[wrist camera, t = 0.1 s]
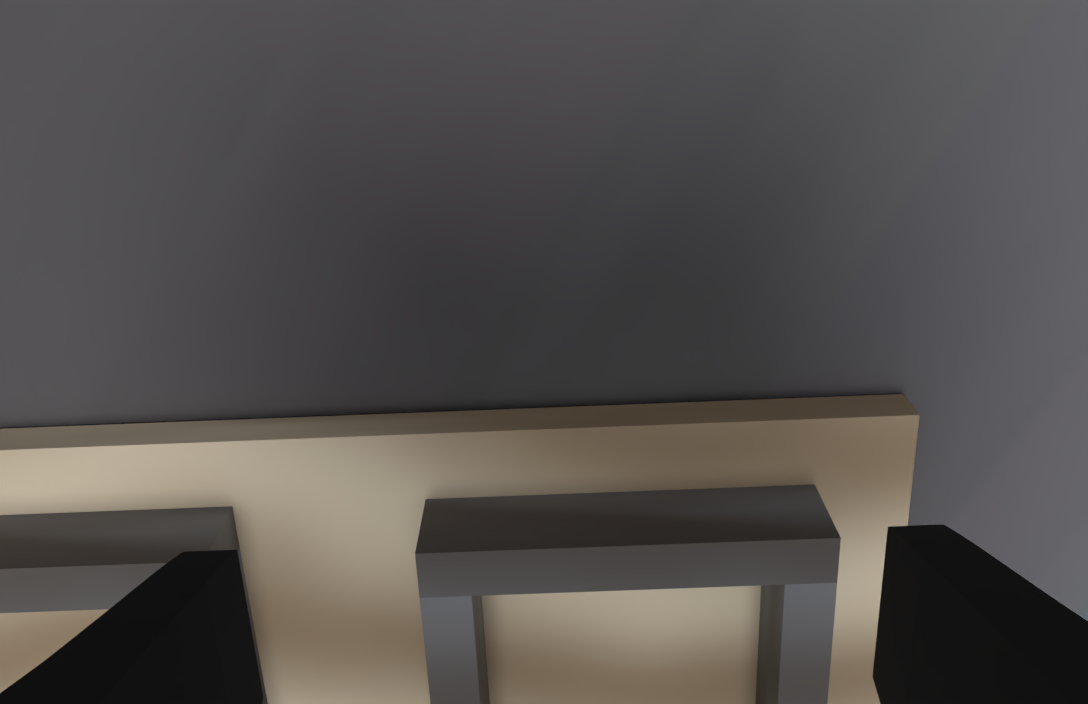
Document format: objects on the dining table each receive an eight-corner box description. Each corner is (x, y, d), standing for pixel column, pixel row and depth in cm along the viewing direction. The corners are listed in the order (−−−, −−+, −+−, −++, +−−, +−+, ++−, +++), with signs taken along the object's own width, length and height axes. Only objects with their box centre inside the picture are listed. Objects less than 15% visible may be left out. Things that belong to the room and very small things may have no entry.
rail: (862, 794, 26) (901, 899, 23) (-95, 827, 26) (-170, 935, 23) (903, 393, 22) (956, 463, 19) (-239, 438, 22) (-351, 512, 19)
